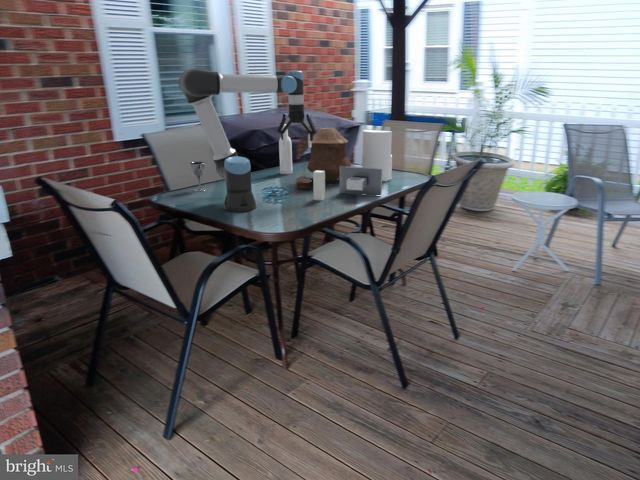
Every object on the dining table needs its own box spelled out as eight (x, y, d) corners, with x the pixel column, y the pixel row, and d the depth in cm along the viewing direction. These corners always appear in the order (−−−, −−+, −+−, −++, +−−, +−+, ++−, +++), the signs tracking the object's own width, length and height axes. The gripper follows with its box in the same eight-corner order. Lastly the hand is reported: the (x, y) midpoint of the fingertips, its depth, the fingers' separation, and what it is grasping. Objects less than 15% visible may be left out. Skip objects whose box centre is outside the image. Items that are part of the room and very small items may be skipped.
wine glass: (210, 189, 264) (207, 162, 259) (197, 192, 259) (195, 164, 254) (202, 187, 270) (199, 160, 264) (189, 190, 264) (186, 163, 259)
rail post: (322, 200, 240) (321, 172, 236) (313, 199, 242) (313, 172, 237) (325, 198, 244) (324, 170, 240) (316, 197, 246) (316, 170, 241)
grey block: (375, 201, 237) (376, 173, 233) (333, 197, 245) (333, 170, 240) (381, 195, 248) (382, 168, 243) (340, 192, 255) (340, 166, 250)
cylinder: (384, 183, 274) (385, 133, 265) (356, 180, 283) (357, 131, 273) (396, 177, 288) (398, 129, 279) (370, 174, 297) (371, 128, 287)
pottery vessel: (336, 186, 268) (336, 131, 257) (298, 181, 281) (297, 129, 271) (358, 177, 288) (359, 126, 278) (322, 173, 301) (322, 124, 291)
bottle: (277, 173, 304) (275, 124, 294) (286, 171, 309) (284, 123, 299) (286, 175, 298) (284, 125, 288) (295, 173, 304) (293, 124, 294)
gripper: (322, 103, 239) (322, 146, 246) (275, 103, 246) (277, 145, 253) (317, 104, 232) (318, 148, 239) (269, 104, 239) (271, 147, 246)
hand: (297, 147), depth 246 cm, fingers open, 13 cm apart
